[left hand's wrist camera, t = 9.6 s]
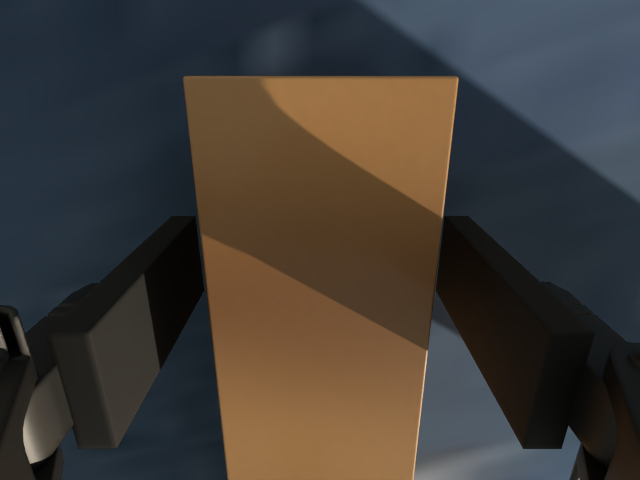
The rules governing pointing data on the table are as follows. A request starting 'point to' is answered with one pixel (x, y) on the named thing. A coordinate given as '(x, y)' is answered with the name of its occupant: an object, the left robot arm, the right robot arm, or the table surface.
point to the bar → (320, 264)
